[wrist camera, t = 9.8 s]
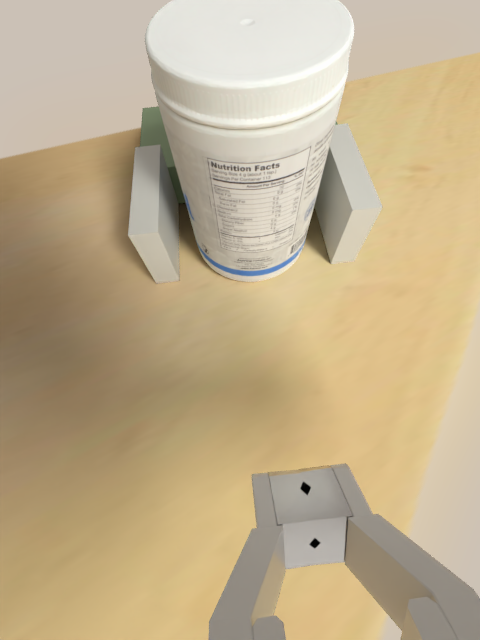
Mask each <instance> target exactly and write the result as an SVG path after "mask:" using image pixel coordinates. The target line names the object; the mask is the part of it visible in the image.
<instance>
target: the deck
mask: <svg viewBox="0 0 480 640" xmlns="http://www.w3.org/2000/svg"><path fill="white" fill-rule="evenodd" d="M181 203H186V202H185V198H184V195H183V191H182V188H181V184H180V180H179V177H178V173H177V170H176V166H175V163H174V159H173V156H172V152H171V148H170V145H169V141H168V138H167V134H166V131H165V127H164V124H163V120H162V117H161V113H160V109H159V107H151V108H143V112H142V126H141V140H140V147H135V157H134V169H133V181H132V194H131V206H130V218H129V230H128V236H129V238H130V240H131V241H132V243H133V245H134V246H135V248H136V250H137V251H138V253H139V255H140V257H141V258H142V260H143V262H144V263H145V265H146V267H147V268H148V270H149V272H150V274H151V275H152V277H153V279H154V280H155V282H156V283H165V282H174V281H180V274H179V204H181ZM314 206H315V210H316V214H317V217H318V221H319V224H320V228H321V231H322V235H323V238H324V242H325V245H326V249H327V252H328V256H329V259H330V263H331V264H335V263H344V262H353V261H355V259H356V257H357V255H358V253H359V251H360V249H361V247H362V245H363V243H364V242H365V240H366V238H367V236H368V234H369V232H370V230H371V228H372V226H373V224H374V222H375V221H376V219H377V217H378V215H379V213H380V211H381V209H382V204H381V202H380V200H379V197H378V195H377V192H376V190H375V188H374V185H373V183H372V181H371V178H370V176H369V173H368V171H367V169H366V166H365V164H364V161H363V159H362V157H361V154H360V152H359V149H358V147H357V145H356V142H355V140H354V138H353V135H352V133H351V130H350V128H349V126H348V124H339V125H338V124H337V122H336V123H335V127H334V131H333V135H332V139H331V143H330V147H329V150H328V154H327V158H326V162H325V166H324V170H323V174H322V178H321V182H320V186H319V189H318V193H317V197H316V201H315V205H314Z"/></svg>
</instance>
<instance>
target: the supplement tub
mask: <svg viewBox="0 0 480 640" xmlns="http://www.w3.org/2000/svg"><path fill="white" fill-rule="evenodd" d="M353 36H354V23H353V20H352V17H351V14H350V13H349V11H348V10H347V8H346V7H345V6H344V5H343V4H342V3H341V2H340V1H339V0H172V1H170V2H169V3H168V4H166V5H165V6H163V7H162V8H161V9H160V10H159V11H158V12H157V13H156V14H155V15H154V17H153V18H152V20H151V21H150V23H149V25H148V27H147V30H146V34H145V44H146V50H147V54H148V58H149V63H150V66H151V77H152V83H153V86H154V89H155V94H156V98H157V102H158V105H159V109H160V113H161V117H162V120H163V124H164V127H165V131H166V134H167V138H168V141H169V145H170V148H171V152H172V156H173V159H174V163H175V166H176V170H177V173H178V177H179V180H180V184H181V188H182V191H183V195H184V198H185V202H186V205H187V209H188V213H189V216H190V220H191V224H192V227H193V231H194V235H195V238H196V242H197V245H198V248H199V251H200V253H201V255H202V257H203V259H204V260H205V261H206V263H207V264H208V265H209V266H210V267H211V268H212V269H213V270H214V271H216V272H217V273H219V274H221V275H222V276H224V277H227V278H230V279H233V280H237V281H243V282H258V281H264V280H267V279H271V278H273V277H276V276H278V275H280V274H282V273H283V272H285V271H286V270H287V269H289V268H290V267H291V266H292V265H293V264H294V263H295V261H296V260H297V259H298V257H299V256H300V254H301V252H302V249H303V246H304V243H305V240H306V236H307V232H308V228H309V224H310V220H311V217H312V213H313V209H314V205H315V201H316V197H317V193H318V189H319V186H320V182H321V178H322V174H323V170H324V166H325V162H326V158H327V154H328V150H329V147H330V143H331V139H332V135H333V131H334V127H335V123H336V119H337V115H338V111H339V107H340V103H341V99H342V95H343V91H344V87H345V81H346V78H347V74H348V59H349V55H350V50H351V46H352V41H353Z"/></svg>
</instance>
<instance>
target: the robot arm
mask: <svg viewBox="0 0 480 640" xmlns="http://www.w3.org/2000/svg"><path fill="white" fill-rule="evenodd" d="M252 486H253V497H254V507H255V518H256V527H257V528H254V529H252V530H251V532H250V535H249V537H248V539H247V541H246V543H245V545H244V547H243V550H242V552H241V554H240V556H239V558H238V560H237V563H236V565H235V567H234V569H233V571H232V573H231V576H230V578H229V580H228V582H227V584H226V586H225V589H224V591H223V593H222V595H221V597H220V599H219V602H218V604H217V606H216V608H215V610H214V612H213V615H212V617H211V619H210V621H209V640H286V637H285V631H284V624H283V622H282V621H281V620H280V619H279V618H278V617H277V616H273V615H274V611H275V608H276V604H277V601H278V597H279V594H280V590H281V586H282V583H283V579H284V576H285V572H286V571H285V569H291V568H297V567H304V566H310V565H318V564H330V563H341V562H345V565H346V566H347V567H348V568H349V569H350V571H351V572H352V573H353V574H354V575H355V576H356V578H357V579H358V580H359V581H360V582H361V583H362V585H363V586H364V587H365V588H366V589H367V591H368V592H369V593H370V594H371V595H372V596H373V598H374V599H375V600H376V601H377V602H378V603H379V605H380V606H381V607H382V608H383V609H384V610H385V612H386V613H387V614H388V615H389V616H390V618H391V619H392V620H393V621H394V622H395V623H396V624H397V626H398V627H399V628H400V629H401V630H402V636H401V640H480V598H479V597H478V595H477V594H476V592H475V591H474V589H472V588H471V587H470V586H469V585H467V584H466V583H465V582H463V581H462V580H461V579H460V578H458V577H457V576H456V575H455V574H453V573H452V572H451V571H450V570H448V569H447V568H446V567H445V566H443V565H442V564H441V563H440V562H438V561H437V560H436V559H435V558H433V557H432V556H431V555H430V554H428V553H427V552H426V551H424V550H423V549H422V548H421V547H419V546H418V545H417V544H416V543H414V542H413V541H412V540H411V539H409V538H408V537H407V536H406V535H404V534H403V533H402V532H400V531H399V530H398V529H397V528H395V527H394V526H393V525H392V524H390V523H389V522H388V521H387V520H385V519H384V518H383V517H382V516H380V515H379V514H373V513H372V511H371V509H370V507H369V505H368V503H367V501H366V499H365V497H364V495H363V493H362V491H361V489H360V487H359V485H358V484H357V482H356V480H355V478H354V476H353V474H352V472H351V470H350V468H349V466H348V465H347V464H338V465H330V466H329V465H327V466H319V467H312V468H304V469H298V470H290V471H278V472H268V473H257V474H252Z"/></svg>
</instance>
